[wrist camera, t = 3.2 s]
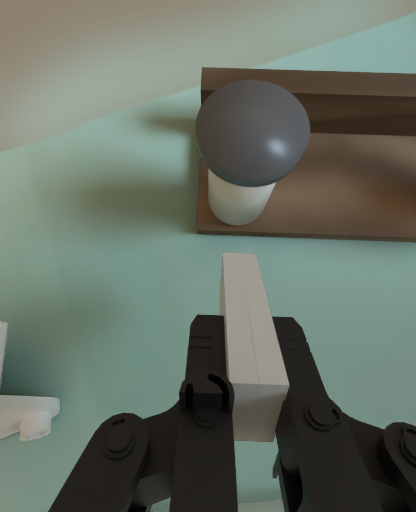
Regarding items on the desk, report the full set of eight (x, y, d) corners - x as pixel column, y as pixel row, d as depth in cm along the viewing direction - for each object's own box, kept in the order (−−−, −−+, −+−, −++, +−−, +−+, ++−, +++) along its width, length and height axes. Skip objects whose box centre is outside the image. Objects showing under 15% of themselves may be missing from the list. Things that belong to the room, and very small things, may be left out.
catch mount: (525, 246, 22) (616, 223, 17) (197, 233, 22) (193, 207, 17) (495, 127, 24) (566, 78, 20) (203, 118, 25) (202, 67, 20)
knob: (273, 234, 21) (313, 178, 13) (199, 231, 21) (193, 174, 13) (272, 167, 22) (307, 81, 14) (202, 165, 22) (198, 77, 14)
